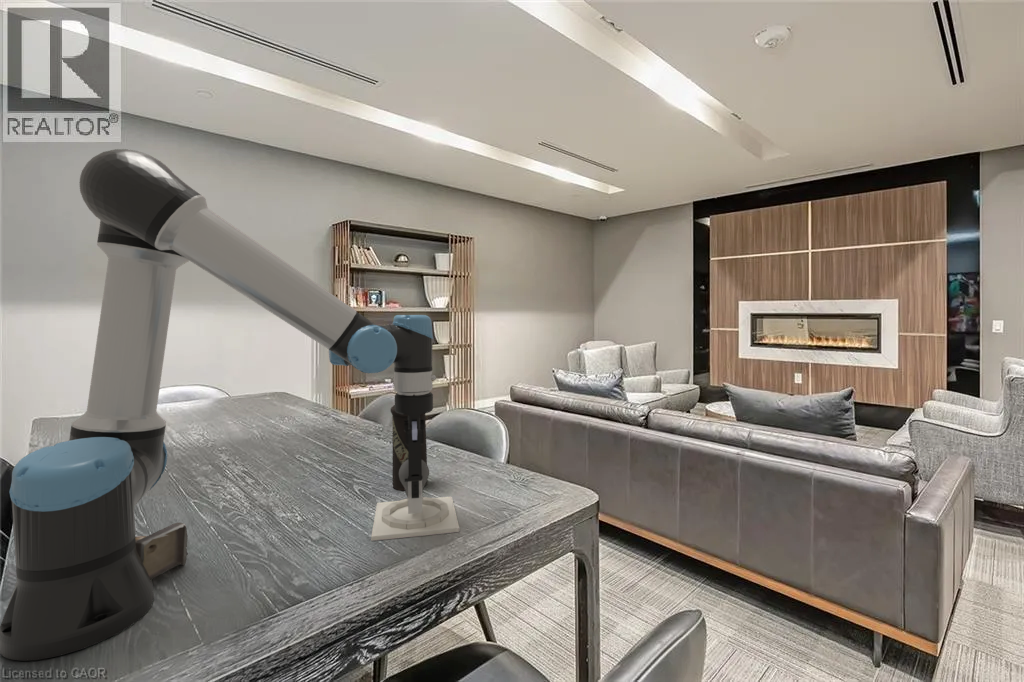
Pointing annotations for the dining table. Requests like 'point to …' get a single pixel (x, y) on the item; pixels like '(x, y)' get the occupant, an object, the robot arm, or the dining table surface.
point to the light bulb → (405, 473)
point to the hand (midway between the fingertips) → (415, 505)
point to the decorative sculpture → (163, 549)
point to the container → (403, 445)
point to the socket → (414, 519)
